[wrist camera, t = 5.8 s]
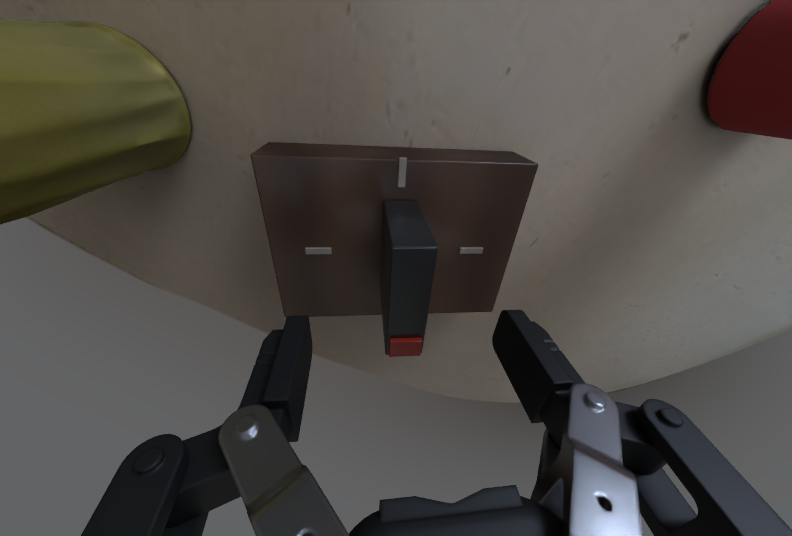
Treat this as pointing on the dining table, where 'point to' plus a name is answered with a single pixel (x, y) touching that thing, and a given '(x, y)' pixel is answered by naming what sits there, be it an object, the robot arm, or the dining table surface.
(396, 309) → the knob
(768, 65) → the beer can
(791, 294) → the dining table surface
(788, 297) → the dining table surface
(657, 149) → the dining table surface
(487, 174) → the panel
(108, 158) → the vase
